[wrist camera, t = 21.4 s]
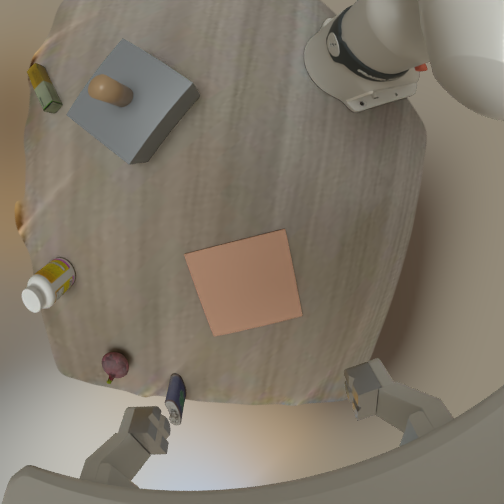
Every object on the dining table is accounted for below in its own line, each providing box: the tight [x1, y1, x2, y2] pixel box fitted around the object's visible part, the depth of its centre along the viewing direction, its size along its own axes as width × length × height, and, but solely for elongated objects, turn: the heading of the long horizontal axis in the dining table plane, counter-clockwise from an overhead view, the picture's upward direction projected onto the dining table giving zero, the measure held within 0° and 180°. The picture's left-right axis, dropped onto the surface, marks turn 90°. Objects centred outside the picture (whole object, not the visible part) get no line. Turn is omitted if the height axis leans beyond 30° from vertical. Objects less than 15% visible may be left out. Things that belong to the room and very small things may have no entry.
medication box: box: [27, 63, 62, 113], centre depth 35 cm, size 12×3×4 cm, turn 31°
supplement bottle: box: [22, 258, 75, 313], centre depth 43 cm, size 7×7×13 cm
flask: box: [165, 374, 186, 425], centre depth 55 cm, size 9×3×11 cm, turn 0°
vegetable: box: [102, 352, 129, 384], centre depth 52 cm, size 6×6×10 cm
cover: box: [67, 39, 200, 164], centre depth 32 cm, size 14×14×17 cm
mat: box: [184, 229, 302, 336], centre depth 52 cm, size 18×18×1 cm
